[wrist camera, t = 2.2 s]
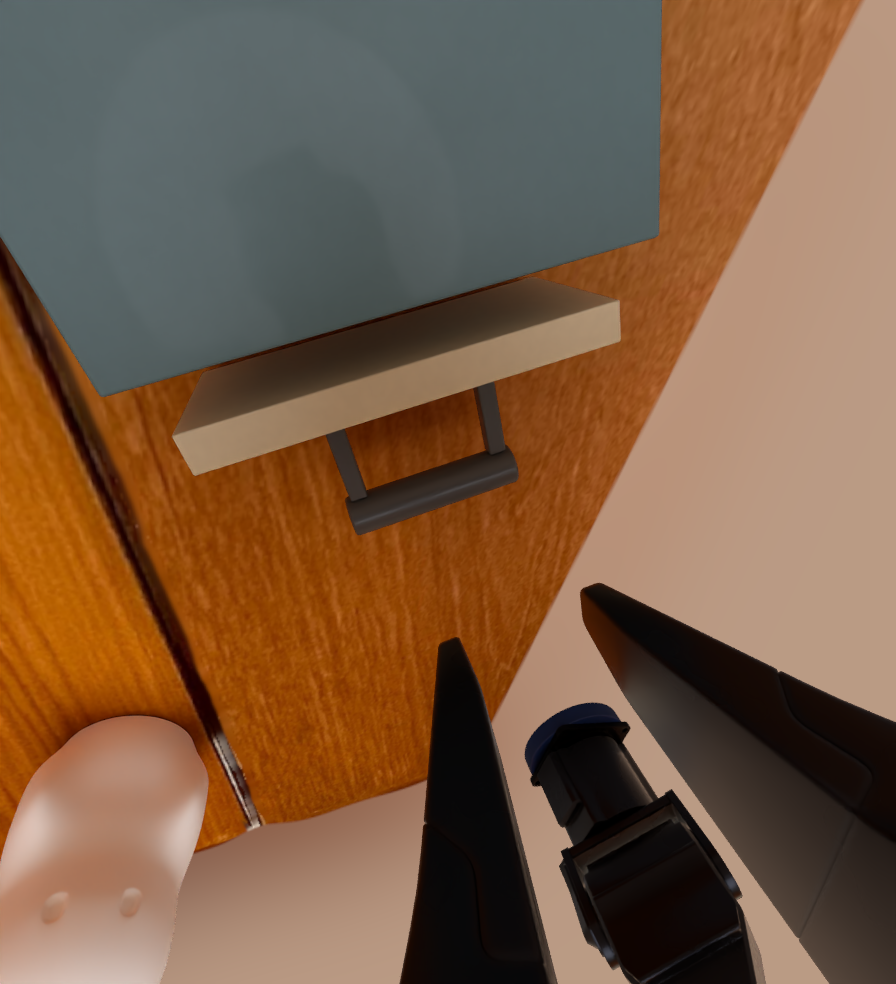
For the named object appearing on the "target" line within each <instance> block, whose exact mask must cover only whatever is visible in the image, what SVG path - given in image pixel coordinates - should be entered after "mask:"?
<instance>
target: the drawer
mask: <svg viewBox="0 0 896 984" xmlns="http://www.w3.org/2000/svg"><path fill="white" fill-rule="evenodd" d="M620 340H621V337H620V302H619V300H617V299H613V298H609V297H606V296H602V295H598V294H595V293H591V292H587V291H584V290H580V289H576V288H573V287H569V286H565V285H562V284H558V283H554V282H551V281H547V280H544V279H540V278H536V277H530V278H526V279H523V280H519V281H516V282H512V283H509V284H506V285H502V286H499V287H495V288H492V289H488V290H485V291H481V292H478V293H475V294H471V295H468V296H464V297H461V298H457V299H454V300H450V301H447V302H444V303H440V304H437V305H433V306H430V307H426V308H423V309H419V310H416V311H413V312H409V313H406V314H402V315H399V316H395V317H392V318H388V319H385V320H382V321H378V322H375V323H371V324H368V325H364V326H361V327H357V328H354V329H351V330H347V331H344V332H340V333H337V334H333V335H330V336H326V337H323V338H320V339H316V340H313V341H309V342H306V343H302V344H299V345H295V346H292V347H289V348H285V349H282V350H278V351H275V352H271V353H268V354H264V355H261V356H258V357H254V358H251V359H247V360H244V361H240V362H237V363H233V364H230V365H227V366H223V367H220V368H216V369H213V370H209V371H206V372H203V373H202V375H201V377H200V379H199V381H198V383H197V385H196V387H195V389H194V392H193V394H192V396H191V398H190V400H189V402H188V404H187V406H186V408H185V410H184V412H183V414H182V416H181V418H180V421H179V423H178V425H177V427H176V429H175V431H174V433H173V435H172V438H173V440H174V442H175V443H176V445H177V447H178V449H179V450H180V452H181V454H182V456H183V457H184V459H185V461H186V463H187V464H188V466H189V468H190V470H191V471H192V473H193V475H194V476H196V475H199V474H202V473H205V472H209V471H212V470H215V469H218V468H221V467H224V466H228V465H231V464H234V463H237V462H240V461H243V460H247V459H250V458H253V457H256V456H259V455H262V454H266V453H269V452H272V451H275V450H278V449H281V448H285V447H288V446H291V445H294V444H297V443H300V442H304V441H307V440H310V439H313V438H316V437H319V436H323V435H326V438H327V440H328V443H329V446H330V448H331V451H332V453H333V456H334V459H335V461H336V464H337V466H338V469H339V472H340V474H341V477H342V479H343V482H344V485H345V487H346V490H347V493H348V495H349V496H348V497H346V498H345V503H346V507H347V510H348V513H349V516H350V519H351V522H352V525H353V527H354V530H355V532H356V533H357V535H362V534H365V533H368V532H371V531H374V530H377V529H380V528H383V527H386V526H389V525H391V524H394V523H397V522H400V521H403V520H406V519H409V518H412V517H415V516H417V515H420V514H423V513H426V512H429V511H432V510H435V509H438V508H441V507H444V506H446V505H449V504H452V503H455V502H458V501H461V500H464V499H467V498H470V497H473V496H475V495H478V494H481V493H484V492H487V491H490V490H493V489H496V488H499V487H501V486H504V485H507V484H510V483H513V482H516V481H517V480H518V467H517V463H516V460H515V458H514V455H513V453H512V451H511V450H510V448H509V447H508V446H507V445H505V443H504V437H503V431H502V425H501V419H500V413H499V407H498V402H497V396H496V390H495V384H494V381H497V380H500V379H503V378H506V377H509V376H513V375H516V374H519V373H522V372H525V371H528V370H532V369H535V368H538V367H541V366H544V365H547V364H551V363H554V362H557V361H560V360H563V359H566V358H569V357H573V356H576V355H579V354H582V353H585V352H588V351H592V350H595V349H598V348H601V347H604V346H607V345H611V344H614V343H617V342H620ZM471 388H473V389H474V394H475V399H476V404H477V410H478V415H479V420H480V425H481V430H482V435H483V440H484V445H485V449H486V451H483V452H480V453H477V454H474V455H471V456H468V457H465V458H462V459H459V460H456V461H453V462H450V463H447V464H444V465H441V466H438V467H435V468H432V469H429V470H426V471H423V472H420V473H417V474H414V475H411V476H408V477H405V478H402V479H399V480H396V481H393V482H390V483H387V484H384V485H381V486H378V487H375V488H372V489H369V490H366V487H365V485H364V482H363V479H362V476H361V473H360V471H359V468H358V465H357V462H356V459H355V457H354V454H353V451H352V448H351V445H350V443H349V440H348V437H347V434H346V431H345V428H348V427H351V426H354V425H357V424H361V423H364V422H367V421H370V420H373V419H376V418H380V417H383V416H386V415H389V414H392V413H395V412H399V411H402V410H405V409H408V408H411V407H414V406H418V405H421V404H424V403H427V402H430V401H433V400H437V399H440V398H443V397H446V396H449V395H452V394H456V393H459V392H462V391H465V390H468V389H471Z"/></svg>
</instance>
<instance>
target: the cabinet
mask: <svg viewBox="0 0 896 984" xmlns="http://www.w3.org/2000/svg"><path fill="white" fill-rule="evenodd" d="M661 24H662V0H0V237H1V238H2V240H3V241H4V243H5V245H6V246H7V248H8V250H9V251H10V253H11V254H12V256H13V258H14V259H15V261H16V262H17V264H18V266H19V267H20V269H21V270H22V272H23V274H24V275H25V277H26V278H27V280H28V282H29V283H30V285H31V286H32V288H33V290H34V291H35V293H36V294H37V296H38V298H39V299H40V301H41V303H42V304H43V306H44V307H45V309H46V311H47V312H48V314H49V315H50V317H51V319H52V320H53V322H54V323H55V325H56V327H57V328H58V330H59V331H60V333H61V335H62V336H63V338H64V339H65V341H66V343H67V344H68V346H69V347H70V349H71V351H72V352H73V354H74V355H75V357H76V359H77V360H78V362H79V364H80V365H81V367H82V368H83V370H84V372H85V373H86V375H87V376H88V378H89V380H90V381H91V383H92V384H93V386H94V388H95V389H96V391H97V392H98V394H99V395H100V396H101V397H106V396H110V395H113V394H116V393H120V392H123V391H127V390H130V389H134V388H137V387H141V386H144V385H148V384H151V383H154V382H158V381H161V380H165V379H168V378H172V377H175V376H179V375H182V374H186V373H189V372H192V371H196V370H199V369H203V368H206V367H210V366H213V365H217V364H220V363H224V362H227V361H231V360H234V359H237V358H241V357H244V356H248V355H251V354H255V353H258V352H262V351H265V350H269V349H272V348H275V347H279V346H282V345H286V344H289V343H293V342H296V341H300V340H303V339H307V338H310V337H313V336H317V335H320V334H324V333H327V332H331V331H334V330H338V329H341V328H345V327H348V326H351V325H355V324H358V323H362V322H365V321H369V320H372V319H376V318H379V317H383V316H386V315H389V314H393V313H396V312H400V311H403V310H407V309H410V308H414V307H417V306H421V305H424V304H427V303H431V302H434V301H438V300H441V299H445V298H448V297H452V296H455V295H459V294H462V293H465V292H469V291H472V290H476V289H479V288H483V287H486V286H490V285H493V284H497V283H500V282H504V281H507V280H510V279H514V278H517V277H521V276H524V275H528V274H531V273H535V272H538V271H542V270H545V269H548V268H552V267H555V266H559V265H562V264H566V263H569V262H573V261H576V260H580V259H583V258H586V257H590V256H593V255H597V254H600V253H604V252H607V251H611V250H614V249H618V248H621V247H624V246H628V245H631V244H635V243H638V242H642V241H645V240H649V239H652V238H655V237H657V236H658V235H659V190H660V107H661Z"/></svg>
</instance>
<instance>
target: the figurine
mask: <svg viewBox="0 0 896 984" xmlns="http://www.w3.org/2000/svg"><path fill="white" fill-rule="evenodd" d="M207 793H208V774H207V771H206V768H205V766H204V764H203V762H202V760H201V758H200V757H199V755H198V753H197V751H196V748H195V746H194V742H193V740H192V738H191V736H190V735H189V734H188V733H187V732H186V731H185V730H184V729H183V728H181V727H180V726H178V725H177V724H175V723H172V722H170V721H167V720H164V719H161V718H156V717H150V716H122V717H115V718H110V719H106V720H103V721H100V722H97V723H94V724H92V725H90V726H88V727H86V728H84V729H82V730H81V731H79V732H78V733H76V734H75V735H74V736H73V737H72V738H70V740H69V741H68V742H67V743H66V744H65V745H64V746H63V747H62V748H61V749H60V750H58V751H57V752H56V753H55V754H54V755H53V756H51V757H50V758H49V759H48V760H47V761H46V762H44V763H43V764H42V765H41V766H40V768H39V769H38V770H37V771H36V772H35V774H34V775H33V777H32V778H31V780H30V781H29V783H28V785H27V787H26V789H25V791H24V793H23V796H22V798H21V801H20V803H19V806H18V808H17V811H16V814H15V816H14V819H13V822H12V824H11V827H10V830H9V833H8V836H7V839H6V842H5V846H4V850H3V854H2V858H1V862H0V984H159V983H160V981H161V978H162V975H163V973H164V970H165V967H166V964H167V961H168V957H169V953H170V949H171V944H172V939H173V934H174V927H175V920H176V909H177V899H178V894H179V890H180V886H181V884H182V880H183V878H184V875H185V873H186V870H187V868H188V865H189V863H190V860H191V857H192V855H193V852H194V849H195V846H196V843H197V840H198V837H199V833H200V830H201V826H202V821H203V817H204V811H205V806H206V800H207Z"/></svg>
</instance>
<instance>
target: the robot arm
mask: <svg viewBox="0 0 896 984" xmlns="http://www.w3.org/2000/svg"><path fill="white" fill-rule="evenodd" d="M580 598H581V608H582V617H583V621H584V624H585V626H586V629H587V630H588V632H589V634H590V636H591V638H592V639H593V641H594V643H595V645H596V647H597V648H598V650H599V652H600V653H601V655H602V657H603V659H604V661H605V663H606V664H607V666H608V668H609V669H610V671H611V673H612V675H613V677H614V678H615V680H616V682H617V684H618V686H619V687H620V689H621V691H622V692H623V694H624V696H625V697H626V699H627V700H628V702H629V703H630V705H631V706H632V708H633V709H634V710H635V712H636V713H637V715H638V716H639V717H640V719H641V720H642V721H643V723H644V724H645V726H646V727H647V728H648V730H649V731H650V733H651V734H652V736H653V737H654V738H655V740H656V741H657V742H658V744H659V745H660V747H661V748H662V750H663V751H664V752H665V754H666V755H667V756H668V758H669V759H670V761H671V762H672V763H673V765H674V766H675V768H676V769H677V770H678V772H679V773H680V775H681V776H682V777H683V779H684V780H685V782H686V783H687V784H688V786H689V787H690V789H691V790H692V791H693V793H694V794H695V796H696V797H697V798H698V800H699V801H700V803H701V804H702V805H703V807H704V808H705V810H706V811H707V812H708V814H709V815H710V817H711V818H712V819H713V821H714V822H715V824H716V825H717V826H718V828H719V829H720V831H721V832H722V833H723V835H724V836H725V838H726V839H727V840H728V842H729V843H730V845H731V846H732V847H733V849H734V850H735V852H736V853H737V854H738V856H739V857H740V859H741V860H742V861H743V863H744V864H745V866H746V867H747V868H748V870H749V871H750V873H751V874H752V875H753V877H754V878H755V880H756V881H757V882H758V884H759V885H760V887H761V888H762V889H763V891H764V892H765V894H766V895H767V896H768V898H769V899H770V901H771V902H772V903H773V905H774V906H775V908H776V909H777V910H778V912H779V913H780V915H781V916H782V917H783V919H784V920H785V922H786V923H787V924H788V926H789V927H790V929H791V930H792V931H793V933H794V934H795V936H796V937H798V938H800V939H799V941H800V943H801V944H802V946H803V947H804V949H805V950H806V951H807V953H808V954H809V956H810V957H811V959H812V960H813V961H814V963H815V964H816V966H817V967H818V968H819V970H820V971H821V973H822V974H823V975H824V977H825V978H826V980H827V981H828V982H829V984H896V722H893V721H891V720H889V719H886V718H884V717H881V716H879V715H876V714H874V713H872V712H870V711H867V710H865V709H862V708H860V707H857V706H855V705H853V704H851V703H848V702H846V701H843V700H841V699H839V698H837V697H835V696H832V695H830V694H828V693H826V692H824V691H821V690H819V689H817V688H815V687H813V686H811V685H809V684H807V683H804V682H802V681H800V680H798V679H796V678H794V677H792V676H790V675H788V674H786V673H784V672H782V671H780V672H778V671H777V669H775V668H774V667H771V666H769V665H767V664H765V663H763V662H761V661H759V660H757V659H755V658H753V657H751V656H749V655H747V654H745V653H743V652H741V651H739V650H737V649H735V648H732V647H731V646H729V645H727V644H725V643H723V642H720V641H718V640H716V639H714V638H712V637H710V636H708V635H706V634H704V633H702V632H700V631H698V630H696V629H694V628H692V627H690V626H688V625H686V624H684V623H682V622H680V621H678V620H675V619H674V618H672V617H670V616H668V615H665V614H663V613H661V612H659V611H657V610H655V609H653V608H651V607H649V606H647V605H645V604H643V603H641V602H639V601H637V600H635V599H633V598H631V597H629V596H627V595H625V594H623V593H621V592H619V591H617V590H614V589H612V588H610V587H608V586H606V585H604V584H602V583H596V584H593V585H590V586H588V587H585V588H583V589H582V590H581V592H580ZM630 729H631V728H630V726H629V724H628V723H627V722H625V721H624V722H603V723H583V724H565V725H561V726H560V727H558V729H557V730H556V732H555V734H554V736H553V738H552V740H551V741H550V743H549V745H548V747H547V749H546V751H545V752H544V754H543V756H542V758H541V760H540V762H539V763H538V765H537V767H536V769H535V771H534V773H533V774H532V776H531V778H530V781H531V783H532V786H534V787H538V786H542V788H543V790H544V793H545V794H546V797H547V799H548V801H549V803H550V806H551V808H552V810H553V813H554V815H555V817H556V819H557V821H558V824H559V825H560V826H561V827H565V828H566V830H567V833H568V835H569V837H570V839H571V841H572V844H573V846H572V847H571V848H569V849H568V848H566V849H564V850H562V851H561V853H562V856H563V858H564V859H563V861H562V863H561V864H560V865H559V867H560V870H561V872H562V874H563V877H564V879H565V882H566V884H567V886H568V889H569V891H570V894H571V897H572V900H573V903H574V906H575V910H576V912H577V916H578V919H579V922H580V925H581V928H582V932H583V934H584V937H585V939H586V941H587V943H588V944H589V945H591V946H593V947H595V948H597V949H599V951H600V953H601V955H602V956H603V957H605V958H606V960H607V962H608V964H609V965H610V967H611V968H612V969H613V970H615V969H616V968H618V967H621V970H622V972H623V974H624V975H625V977H626V979H627V980H628V982H629V983H630V984H766V982H765V976H764V970H763V964H762V958H761V954H760V951H759V948H758V946H757V944H756V941H755V939H754V936H753V934H752V932H751V929H750V927H749V925H748V922H747V920H746V917H745V915H744V913H743V910H742V909H741V907H740V905H739V904H738V902H737V900H738V899H740V898H742V893H741V891H740V889H739V887H738V885H737V883H736V881H735V879H734V878H733V876H732V874H731V873H730V871H729V869H728V868H727V866H726V864H725V863H724V861H723V860H722V858H721V857H720V855H719V854H718V852H717V851H716V849H715V848H714V846H713V845H712V843H711V842H710V841H709V839H708V838H707V837H706V835H705V834H704V833H703V831H702V830H701V828H700V827H699V826H698V825H697V823H696V822H695V820H694V819H693V817H692V816H691V815H690V813H689V812H688V811H687V809H686V808H685V807H684V805H683V804H682V802H681V801H680V800H679V798H678V797H677V796H676V794H675V793H674V792H673V790H672V789H671V790H669V791H668V792H666V793H665V795H664V796H662V797H660V798H658V797H657V796H656V794H655V792H654V791H653V790H652V788H651V786H650V785H649V783H648V782H647V780H646V778H645V777H644V775H643V774H642V772H641V771H640V769H639V767H638V766H637V764H636V763H635V761H634V760H633V758H632V756H631V755H630V753H629V752H628V750H627V748H626V747H625V745H624V744H623V740H624V738H625V737H626V735H627V734H628V732H629V731H630ZM424 822H425V825H424V826H423V835H422V846H421V856H420V865H419V874H418V884H417V890H416V897H415V902H414V909H413V915H412V921H411V927H410V932H409V938H408V943H407V948H406V953H405V958H404V963H403V969H402V974H401V979H400V984H558V983H557V979H556V975H555V972H554V967H553V963H552V959H551V955H550V951H549V947H548V944H547V939H546V936H545V931H544V928H543V924H542V919H541V916H540V912H539V908H538V904H537V900H536V896H535V892H534V888H533V884H532V880H531V876H530V872H529V868H528V864H527V860H526V856H525V852H524V848H523V844H522V841H521V836H520V832H519V828H518V824H517V820H516V816H515V812H514V808H513V804H512V800H511V796H510V792H509V789H508V784H507V780H506V776H505V773H504V768H503V764H502V761H501V757H500V753H499V750H498V746H497V743H496V739H495V736H494V732H493V729H492V725H491V722H490V718H489V715H488V711H487V708H486V704H485V701H484V697H483V694H482V690H481V687H480V684H479V682H478V679H477V677H476V675H475V672H474V670H473V668H472V666H471V663H470V661H469V659H468V656H467V654H466V652H465V650H464V647H463V645H462V643H461V641H460V639H459V638H458V637H455V638H452V639H449V640H447V641H444V642H442V643H440V644H439V647H438V657H437V669H436V681H435V693H434V705H433V717H432V729H431V741H430V753H429V765H428V777H427V790H426V801H425V813H424Z"/></svg>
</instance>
